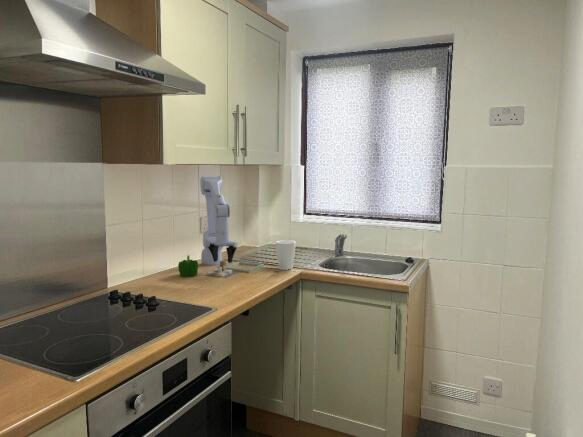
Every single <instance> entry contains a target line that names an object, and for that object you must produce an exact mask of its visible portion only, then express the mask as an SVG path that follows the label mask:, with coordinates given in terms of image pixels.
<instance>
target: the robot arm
mask: <svg viewBox="0 0 583 437" xmlns="http://www.w3.org/2000/svg"><path fill="white" fill-rule="evenodd" d="M199 181H200V182H199V184H200V192H201V194H202V195H203V196H204V198H205V203H206V204H205V205H206V216H207V217H206V218H207V229H206V230H205V231H204V232H203V234H202V245H203V248H202V251H201V253H200V254H201V257H200V258H201V264H202V265H208V266H220V261H222V260H223V257H222V252H223V251H222V249H223V248H224V247H226V248H225V249H226V253H227V262H228V264H231V263H233V260H234V259H233V258H234V255H235V253H236V251H237V249H238V248H237V247H238V243H239V242H236V241H231V240H230V234H229V233H230V232H229V231H230V230H229V229H230V228H229V227H230V226H229V218H230V215H231V209H230V204H228V203H227V202H226V200H225V197H224V195H223V194H221V190H222V188H223V179H222V177H221V176H220V175H218V176H216V175H215V176H204V175H203V176H201V177H200V179H199Z"/></svg>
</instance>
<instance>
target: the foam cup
mask: <svg viewBox="0 0 583 437" xmlns="http://www.w3.org/2000/svg"><path fill="white" fill-rule="evenodd" d="M296 244H297V242H296V240H289V239H284V240H283V239H282V240H277V241H275V247H276V249H275V250H276V255H277V262H278V267H279V268H278V269H279V270H281V271H289V270H288V269H291V270H293V269H292V268H293V267H294V259H295V253H296V251H295V250H296V246H297V245H296Z"/></svg>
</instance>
